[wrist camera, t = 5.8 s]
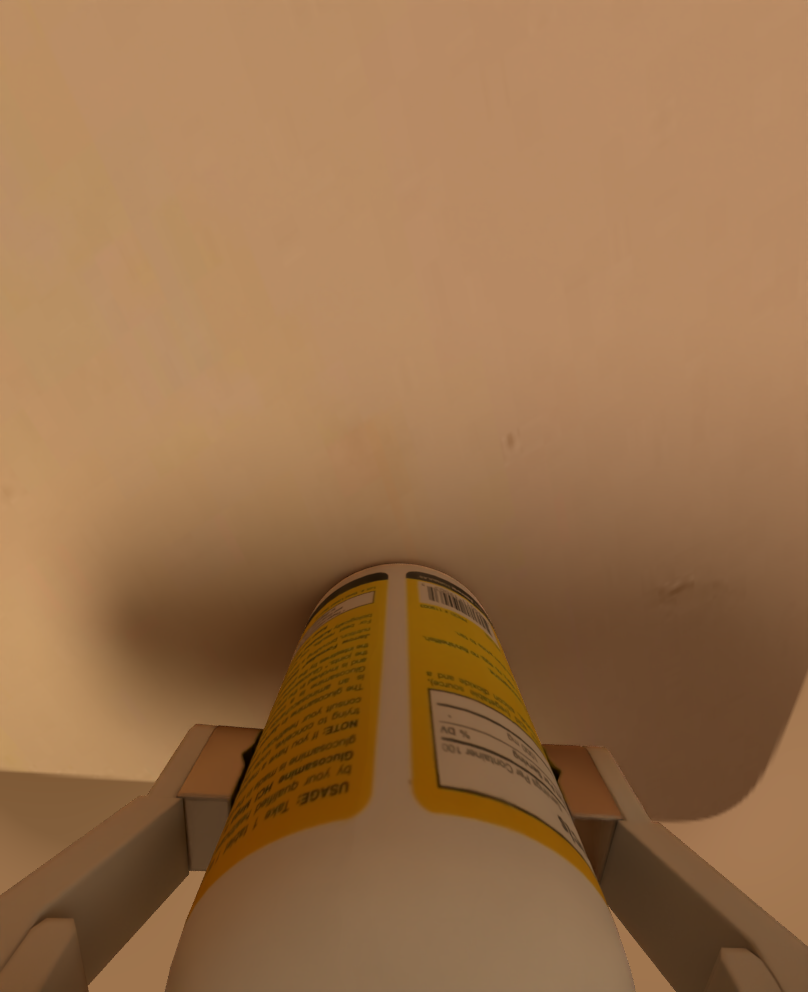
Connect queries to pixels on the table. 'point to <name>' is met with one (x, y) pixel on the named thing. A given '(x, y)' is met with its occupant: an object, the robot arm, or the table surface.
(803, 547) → the table surface
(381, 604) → the pill bottle
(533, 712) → the table surface
